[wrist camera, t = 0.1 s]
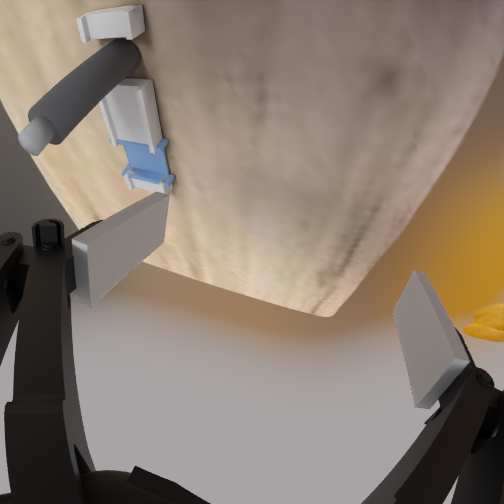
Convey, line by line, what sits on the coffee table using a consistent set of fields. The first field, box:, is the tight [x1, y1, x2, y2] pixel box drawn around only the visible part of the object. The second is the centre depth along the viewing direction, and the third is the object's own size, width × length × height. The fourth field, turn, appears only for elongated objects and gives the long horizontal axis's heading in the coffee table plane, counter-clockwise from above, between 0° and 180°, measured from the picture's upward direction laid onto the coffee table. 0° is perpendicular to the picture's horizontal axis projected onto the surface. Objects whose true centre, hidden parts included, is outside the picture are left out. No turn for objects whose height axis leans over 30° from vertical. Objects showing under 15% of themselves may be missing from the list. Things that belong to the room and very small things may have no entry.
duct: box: [77, 5, 175, 195], centre depth 28 cm, size 25×7×2 cm, turn 175°
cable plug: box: [18, 39, 140, 156], centre depth 20 cm, size 4×4×13 cm
